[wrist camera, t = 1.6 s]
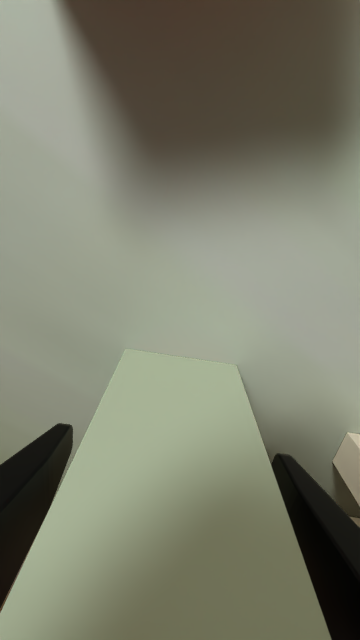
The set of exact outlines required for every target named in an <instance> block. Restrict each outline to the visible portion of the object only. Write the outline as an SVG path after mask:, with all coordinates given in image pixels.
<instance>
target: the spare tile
mask: <svg viewBox="0 0 360 640" xmlns="http://www.w3.org/2000/svg"><path fill="white" fill-rule="evenodd" d="M0 640H331V637H330V634H329V631H328V628H327V625H326V622H325V619H324V616H323V614H322V611H321V608H320V605H319V602H318V599H317V596H316V593H315V591H314V588H313V585H312V582H311V579H310V576H309V573H308V570H307V567H306V565H305V562H304V559H303V556H302V553H301V550H300V547H299V544H298V542H297V539H296V536H295V533H294V530H293V527H292V524H291V521H290V518H289V516H288V513H287V510H286V507H285V504H284V501H283V498H282V495H281V492H280V490H279V487H278V484H277V481H276V478H275V475H274V472H273V469H272V467H271V464H270V461H269V458H268V455H267V452H266V449H265V446H264V443H263V441H262V438H261V435H260V432H259V429H258V426H257V423H256V420H255V418H254V415H253V412H252V409H251V406H250V403H249V400H248V397H247V394H246V392H245V389H244V386H243V383H242V380H241V377H240V374H239V371H238V369H237V366H236V365H233V364H227V363H220V362H213V361H206V360H200V359H193V358H186V357H179V356H172V355H166V354H159V353H152V352H145V351H139V350H132V349H125V351H124V353H123V355H122V357H121V359H120V362H119V364H118V366H117V368H116V370H115V372H114V374H113V376H112V379H111V381H110V383H109V385H108V387H107V389H106V391H105V393H104V395H103V398H102V400H101V402H100V404H99V406H98V408H97V410H96V412H95V414H94V417H93V419H92V421H91V423H90V425H89V427H88V429H87V431H86V433H85V436H84V438H83V440H82V442H81V444H80V446H79V448H78V450H77V452H76V455H75V457H74V459H73V461H72V463H71V465H70V467H69V469H68V471H67V474H66V476H65V478H64V480H63V482H62V484H61V486H60V488H59V490H58V493H57V495H56V497H55V499H54V501H53V503H52V505H51V507H50V509H49V512H48V514H47V516H46V518H45V520H44V522H43V524H42V526H41V528H40V531H39V533H38V535H37V537H36V539H35V541H34V543H33V545H32V547H31V550H30V552H29V554H28V556H27V558H26V560H25V562H24V564H23V567H22V569H21V571H20V573H19V575H18V577H17V579H16V581H15V583H14V586H13V588H12V590H11V592H10V594H9V596H8V598H7V600H6V602H5V605H4V607H3V609H2V611H1V613H0Z"/></svg>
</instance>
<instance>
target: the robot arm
mask: <svg viewBox="0 0 360 640" xmlns="http://www.w3.org/2000/svg"><path fill="white" fill-rule="evenodd" d="M72 446H73V427H72V425H70V424H62V423H59V424H57V425H55V426H54V427H52V428H51V429H50V430H48V431H47V432H45V433H44V434H43V435H41V436H40V437H38V438H37V439H36V440H34V441H33V442H31V443H30V444H29V445H27V446H26V447H24V448H23V449H22V450H20V451H19V452H18V453H16V454H15V455H13V456H12V457H11V458H9V459H8V460H6V461H5V462H4V463H2V464H1V465H0V608H1V606H2V604H3V602H4V600H5V598H6V595H7V593H8V591H9V589H10V587H11V585H12V583H13V581H14V579H15V577H16V575H17V573H18V571H19V569H20V567H21V565H22V563H23V561H24V559H25V557H26V555H27V553H28V551H29V549H30V547H31V545H32V543H33V541H34V539H35V537H36V535H37V533H38V531H39V529H40V527H41V525H42V523H43V521H44V519H45V516H46V514H47V512H48V510H49V508H50V506H51V503H52V501H53V498H54V496H55V493H56V490H57V488H58V485H59V482H60V480H61V477H62V475H63V472H64V469H65V467H66V464H67V461H68V459H69V456H70V454H71V450H72ZM271 467H272V469H273V472H274V475H275V478H276V481H277V484H278V487H279V490H280V492H281V495H282V498H283V501H284V504H285V507H286V510H287V513H288V516H289V518H290V521H291V524H292V527H293V530H294V533H295V536H296V539H297V542H298V544H299V547H300V550H301V553H302V556H303V559H304V562H305V565H306V567H307V570H308V573H309V576H310V579H311V582H312V585H313V588H314V591H315V593H316V596H317V599H318V602H319V605H320V608H321V611H322V614H323V616H324V619H325V622H326V625H327V628H328V631H329V634H330V637H331V640H360V527H359V526H358V525H357V524H356V523H355V522H354V521H353V520H352V519H351V518H350V517H349V516H348V515H347V514H346V513H345V512H344V511H343V510H342V509H341V508H340V506H339V505H338V504H337V503H336V502H335V501H334V500H333V499H332V498H331V497H330V496H329V495H328V494H327V493H326V492H325V491H324V490H323V489H322V488H321V487H320V486H319V485H318V483H317V482H316V481H315V480H314V479H313V478H312V477H311V476H310V475H309V474H308V473H307V472H306V471H305V470H304V469H303V468H302V467H301V466H300V465H299V464H298V463H297V462H296V460H295V459H294V458H293V457H292V456H290V455H287V454H280V453H278V454H276V455H275V457H274V460H273V462H272V465H271Z"/></svg>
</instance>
